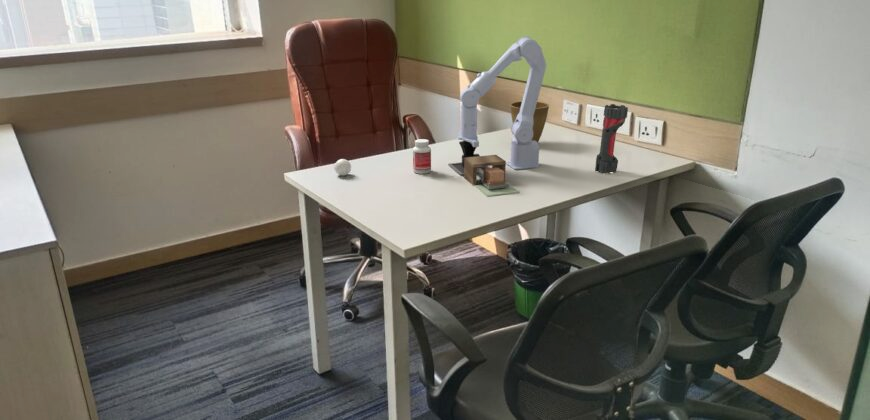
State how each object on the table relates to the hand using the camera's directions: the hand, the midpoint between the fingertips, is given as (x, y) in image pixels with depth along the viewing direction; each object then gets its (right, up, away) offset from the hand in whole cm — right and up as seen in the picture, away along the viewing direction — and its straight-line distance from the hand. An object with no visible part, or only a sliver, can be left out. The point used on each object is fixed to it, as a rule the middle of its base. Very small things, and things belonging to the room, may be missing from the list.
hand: (468, 161), depth 228 cm
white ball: (-44, -5, -7) cm, 44 cm away
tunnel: (+5, -7, -13) cm, 15 cm away
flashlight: (+48, -4, -5) cm, 49 cm away
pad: (+8, -11, -22) cm, 26 cm away
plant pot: (+25, +9, +28) cm, 39 cm away
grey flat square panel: (+1, -3, -1) cm, 3 cm away
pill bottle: (-16, -4, -4) cm, 17 cm away
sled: (+4, -6, -12) cm, 14 cm away
